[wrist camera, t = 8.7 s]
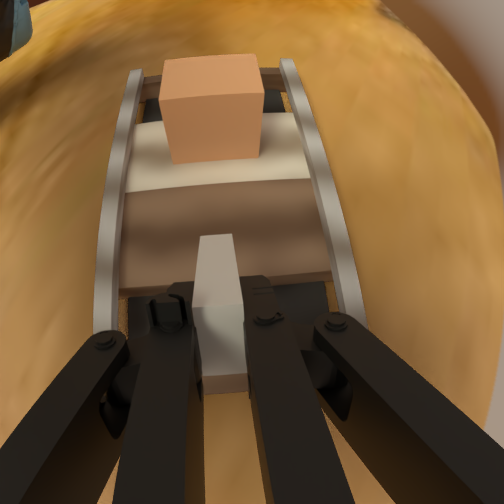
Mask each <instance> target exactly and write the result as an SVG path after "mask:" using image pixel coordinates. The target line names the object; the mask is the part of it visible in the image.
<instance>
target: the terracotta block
mask: <svg viewBox="0 0 504 504" xmlns="http://www.w3.org/2000/svg"><path fill="white" fill-rule="evenodd" d="M264 94H265V92H264V88H263V84H262V79H261V75H260V71H259V66H258V62H257V58H256V54H229V55H212V56H199V57H188V58H179V59H170V60H165V63H164V68H163V75H162V81H161V87H160V94H159V105H160V109H161V114H162V119H163V123H164V127H165V132H166V136H167V141H168V145H169V149H170V153H171V157H172V162H173V165H174V164H184V163H195V162H206V161H219V160H233V159H250V158H258V157H259V147H260V136H261V125H262V115H263V104H264Z"/></svg>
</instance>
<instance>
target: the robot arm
mask: <svg viewBox="0 0 504 504" xmlns="http://www.w3.org/2000/svg"><path fill="white" fill-rule="evenodd" d="M32 32H33V29H32V22H31V16H30V10H29V6H28V2H27V0H0V62H1V61H2V60H4V59H6V58H7V57H10V56H11V55H12V53H14V52H15V51H17V50H18V49H20V48H21V47H23V46H24V45H26V44H27V43H28V41H29V40H30V39H31V37H32ZM145 306H146V311H147V315H148V320H149V324H150V330H149V333H148V334H147V335H145V336H142V337H139V338H135V339H131V340H127V341H126V337H125V335H124V334H123V333H122V332H120V331H117V330H104V331H100V332H98V333H96V334H94V335H92V336H91V337H90V338H89V339H88V340H87V341H86V342H85V343H84V344H83V345H82V347H81V348H80V349H79V350H78V351H77V352H76V354H75V355H74V356H73V357H72V358H71V360H70V361H69V362H68V363H67V364H66V365H65V367H64V368H63V369H62V370H61V372H60V373H59V374H58V375H57V376H56V378H55V379H54V380H53V381H52V382H51V384H50V385H49V386H48V387H47V389H46V390H45V391H44V392H43V394H42V395H41V396H40V397H39V399H38V400H37V401H36V402H35V404H34V405H33V406H32V407H31V409H30V410H29V411H28V413H27V414H26V415H25V416H24V418H23V419H22V420H21V422H20V423H19V424H18V426H17V427H16V428H15V430H14V431H13V432H12V434H11V435H10V436H9V438H8V439H7V440H6V442H5V443H4V444H3V446H2V447H1V448H0V504H97V502H98V500H99V498H100V496H101V493H102V491H103V489H104V487H105V485H106V483H107V481H108V479H109V477H110V475H111V473H112V471H113V469H114V467H115V465H116V463H117V461H118V459H119V457H120V460H119V466H118V471H117V477H116V483H115V489H114V495H113V502H112V504H205V477H204V409H203V398H204V387H203V381H202V374H203V376H214V375H228V374H240V373H247V375H248V390H249V399H250V400H251V407H252V414H253V421H254V428H255V434H256V441H257V448H258V454H259V461H260V467H261V473H262V480H263V486H264V492H265V498H266V504H355V501H354V499H353V496H352V493H351V490H350V487H349V484H348V482H347V479H346V476H345V473H344V470H343V467H342V465H341V462H340V459H339V456H338V453H337V451H336V448H335V445H334V442H333V439H332V437H331V434H330V431H329V428H328V426H327V423H326V420H325V417H324V414H323V412H322V409H323V410H324V412H325V413H326V415H327V416H328V417H329V419H330V420H331V421H332V422H333V424H334V425H335V426H336V428H337V429H338V430H339V432H340V433H341V434H342V436H343V437H344V438H345V440H346V441H347V442H348V444H349V445H350V446H351V447H352V449H353V450H354V451H355V453H356V454H357V455H358V457H359V458H360V459H361V460H362V462H363V463H364V464H365V466H366V467H367V468H368V469H369V471H370V472H371V473H372V475H373V476H374V477H375V478H376V480H377V481H378V482H379V483H380V485H381V486H382V487H383V488H384V490H385V491H386V492H387V493H388V495H389V496H390V497H391V498H392V500H393V501H394V502H395V503H396V504H504V449H503V448H502V447H501V446H500V445H499V444H498V443H497V442H495V441H494V440H493V439H492V438H491V437H490V436H489V435H488V434H487V433H485V432H484V431H483V430H482V429H481V428H480V427H479V426H478V425H477V424H475V423H474V422H473V421H472V420H471V419H470V418H469V417H468V416H466V415H465V414H464V413H463V412H462V411H461V410H460V409H459V408H457V407H456V406H455V405H454V404H453V403H452V402H451V401H449V400H448V399H447V398H446V397H445V396H444V395H443V394H441V393H440V392H439V391H438V390H437V389H436V388H435V387H433V386H432V385H431V384H430V383H429V382H428V381H427V380H425V379H424V378H423V377H422V376H421V375H420V374H419V373H417V372H416V371H415V370H414V369H413V368H412V367H411V366H409V365H408V364H407V363H406V362H405V361H404V360H402V359H401V358H400V357H399V356H398V355H397V354H396V353H394V352H393V351H392V350H391V349H390V348H389V347H387V346H386V345H385V344H384V343H383V342H382V341H380V340H379V339H378V338H377V337H376V336H375V335H373V334H372V333H371V332H370V331H369V330H368V329H366V328H365V327H364V326H363V325H362V324H361V323H359V322H358V321H357V320H356V319H355V318H353V317H352V316H350V315H348V314H344V313H341V312H329V313H324V314H322V315H319V316H318V317H317V318H316V319H315V321H314V325H305V324H298V323H294V322H291V321H289V319H288V316H287V315H286V314H285V312H283V311H281V310H280V308H279V306H278V303H277V300H276V297H275V294H274V291H273V289H272V286H271V283H270V280H269V279H267V278H266V277H265V276H263V275H253V276H241V277H239V275H238V269H237V262H236V256H235V250H234V244H233V237H232V234H220V235H206V236H200V242H199V250H198V258H197V266H196V274H195V281H186V282H174V283H173V284H172V285H171V286H170V287H169V288H167V292H165V293H160V294H157V295H154V296H153V297H151V298H149V299H148V300H147V302H146V303H145ZM321 408H322V409H321Z"/></svg>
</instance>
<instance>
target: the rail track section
mask: <svg viewBox="0 0 504 504" xmlns="http://www.w3.org/2000/svg"><path fill="white" fill-rule="evenodd" d="M259 71H260V75H261V79H262V84H263V88H264V92H265V94H264V104H263V115H262V125H261V136H260V147H259V157H258V158H250V159H233V160H219V161H206V162H195V163H184V164H174V165H173V162H172V157H171V153H170V149H169V145H168V141H167V136H166V132H165V127H164V123H163V119H162V114H161V109H160V105H159V94H160V87H161V81H162V75H158V76H151V77H144V74H143V70H142V69H136V70H131V71H130V74H129V78H128V81H127V85H126V89H125V92H124V96H123V100H122V104H121V108H120V112H119V116H118V121H117V125H116V129H115V134H114V139H113V144H112V149H111V154H110V159H109V164H108V170H107V176H106V182H105V188H104V195H103V202H102V209H101V217H100V226H99V235H98V245H97V256H96V269H95V286H94V311H93V335H94V334H96V333H98V332H100V331H104V330H117V331H118V299H128V331H129V340H131V339H135V338H139V337H142V336H145V335H147V334H148V333H149V330H150V324H149V320H148V315H147V311H146V306H145V303H146V302H147V300H148V299H149V298H151V297H153V296H154V295H157V294H160V293H165V292H167V288H169V287H170V286H171V285H172V284H173V283H174V282H186V281H195V274H196V266H197V258H198V250H199V242H200V236H206V235H220V234H232V237H233V244H234V250H235V256H236V262H237V269H238V275H239V277H241V276H253V275H263V276H265V277H266V278H267V279H269V280H270V283H271V286H272V289H273V291H274V294H275V297H276V300H277V303H278V306H279V308H280V310H281V311H283V312H285V314H286V315H287V316H288V319H289V321H291V322H294V323H298V324H305V325H314V321H315V319H316V318H317V317H318V316H319V315H322V314H324V313H329V308H328V302H327V297H326V291H325V286H324V282H329V281H334V286H335V291H336V297H337V302H338V307H339V312H341V313H344V314H348V315H350V316H352V317H353V318H355V319H356V320H357V321H358V322H359V323H361V324H362V325H363V326H364V327H365V328H366V329H368V324H367V319H366V314H365V309H364V304H363V299H362V294H361V289H360V284H359V280H358V275H357V270H356V266H355V262H354V257H353V253H352V249H351V245H350V241H349V236H348V232H347V229H346V225H345V221H344V217H343V213H342V209H341V206H340V202H339V198H338V195H337V191H336V188H335V184H334V181H333V177H332V174H331V170H330V167H329V164H328V160H327V157H326V154H325V151H324V148H323V144H322V141H321V138H320V135H319V132H318V129H317V126H316V123H315V120H314V117H313V114H312V111H311V108H310V105H309V103H308V100H307V97H306V94H305V91H304V89H303V86H302V83H301V80H300V78H299V75H298V72H297V70H296V67H295V65H294V62H293V59H283V58H280V65H279V68H259ZM280 92H287V94H288V98H289V101H290V104H291V108H292V111H293V113H285V109H284V105H283V102H282V98H281V94H280ZM141 102H146V105H145V110H144V117H143V123H142V124H135V121H136V115H137V110H138V105H139V103H141ZM202 381H203V387H204V395H208V394H222V393H234V392H245V391H249V390H248V375H247V373H240V374H228V375H214V376H203V374H202Z"/></svg>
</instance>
